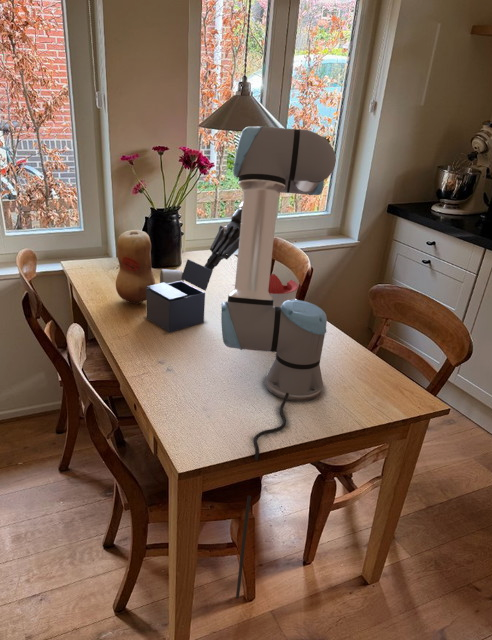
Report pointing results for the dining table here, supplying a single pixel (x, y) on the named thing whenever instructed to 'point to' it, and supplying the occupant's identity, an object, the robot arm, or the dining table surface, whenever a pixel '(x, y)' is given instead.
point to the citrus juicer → (281, 290)
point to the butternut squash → (134, 266)
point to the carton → (175, 305)
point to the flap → (196, 274)
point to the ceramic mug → (170, 276)
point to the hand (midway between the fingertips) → (205, 272)
